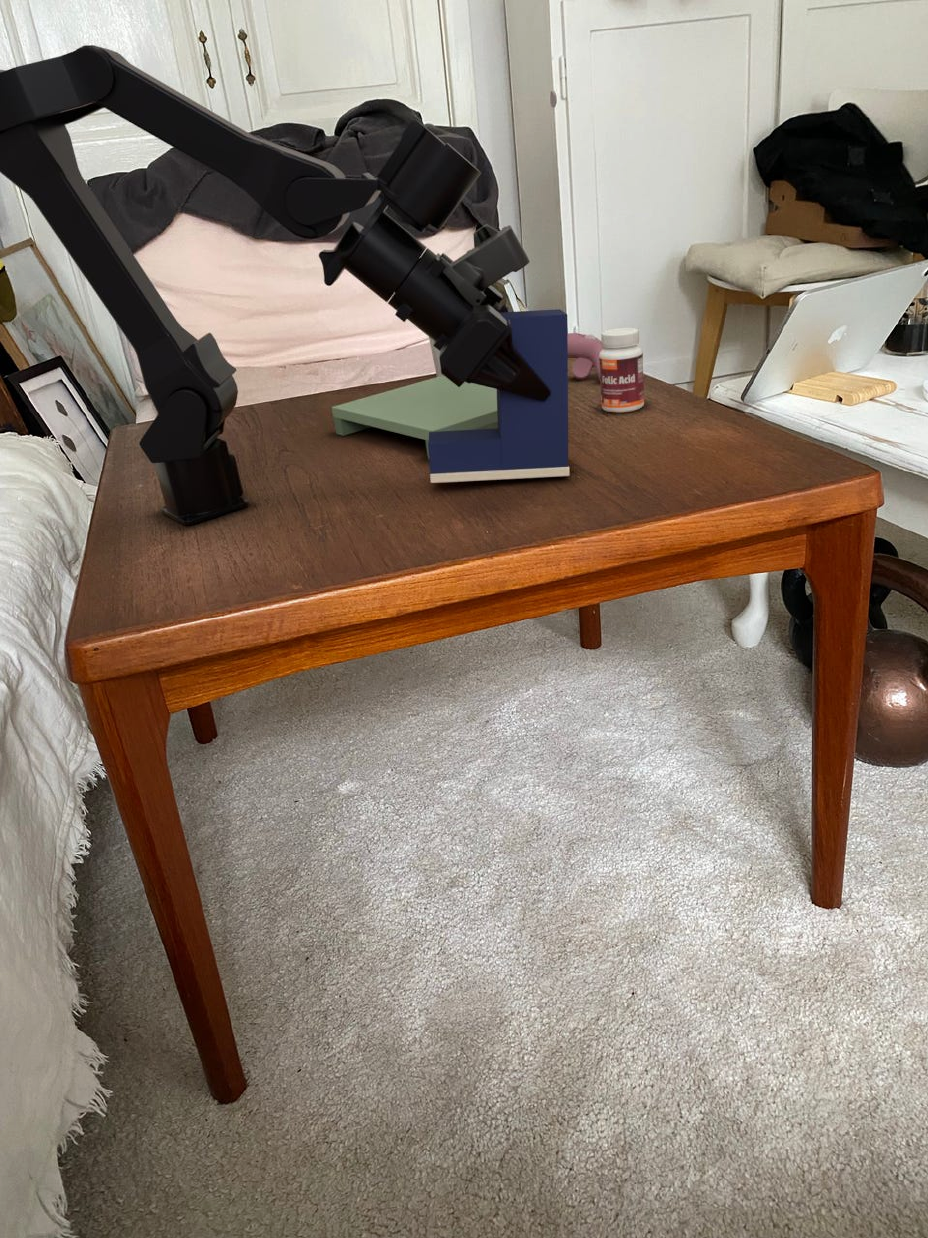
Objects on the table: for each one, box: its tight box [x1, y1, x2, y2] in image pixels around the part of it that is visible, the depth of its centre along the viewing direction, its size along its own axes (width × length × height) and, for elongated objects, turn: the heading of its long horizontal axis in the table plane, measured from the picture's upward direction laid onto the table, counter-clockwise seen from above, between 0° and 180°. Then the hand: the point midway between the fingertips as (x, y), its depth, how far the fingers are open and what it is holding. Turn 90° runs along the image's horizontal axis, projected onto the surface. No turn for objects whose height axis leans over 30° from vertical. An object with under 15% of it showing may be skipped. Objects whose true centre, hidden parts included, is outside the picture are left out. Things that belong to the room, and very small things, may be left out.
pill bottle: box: [599, 327, 645, 414], centre depth 105 cm, size 5×5×8 cm
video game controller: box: [568, 332, 604, 381], centre depth 120 cm, size 10×5×7 cm, turn 84°
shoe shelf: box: [331, 376, 498, 460], centre depth 107 cm, size 16×20×3 cm
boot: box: [428, 308, 571, 484], centre depth 86 cm, size 13×6×14 cm, turn 91°
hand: (545, 389), depth 86 cm, fingers closed on boot, 5 cm apart
